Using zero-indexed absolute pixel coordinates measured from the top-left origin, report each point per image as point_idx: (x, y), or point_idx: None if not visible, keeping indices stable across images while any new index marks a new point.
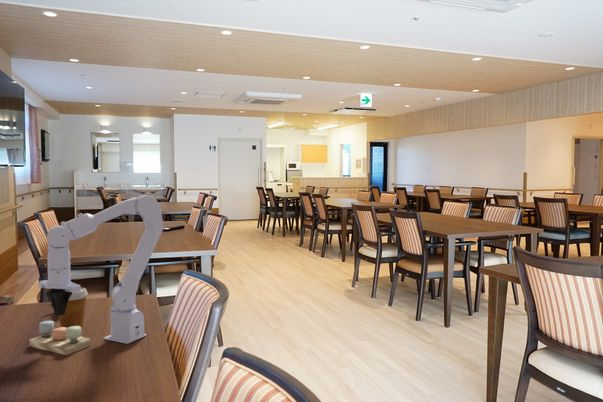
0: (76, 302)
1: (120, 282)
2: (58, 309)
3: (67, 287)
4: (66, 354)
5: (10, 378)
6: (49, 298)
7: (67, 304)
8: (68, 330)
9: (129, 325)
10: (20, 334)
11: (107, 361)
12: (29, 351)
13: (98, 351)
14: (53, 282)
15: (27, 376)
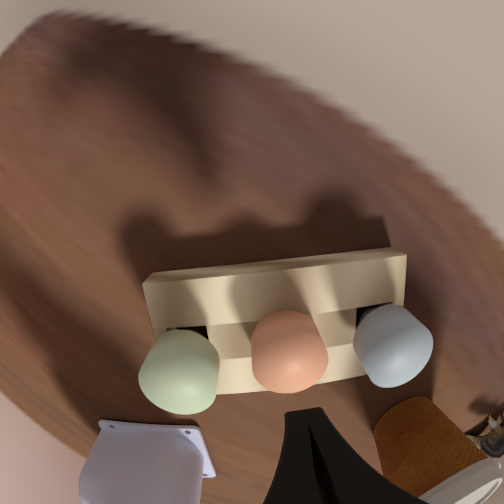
0: None
1: None
2: (282, 451)
3: None
4: (152, 273)
5: (126, 34)
6: (397, 500)
7: (428, 475)
8: (161, 354)
9: (85, 466)
10: (496, 294)
11: (17, 304)
12: (339, 212)
13: (102, 351)
14: None
15: (90, 76)
